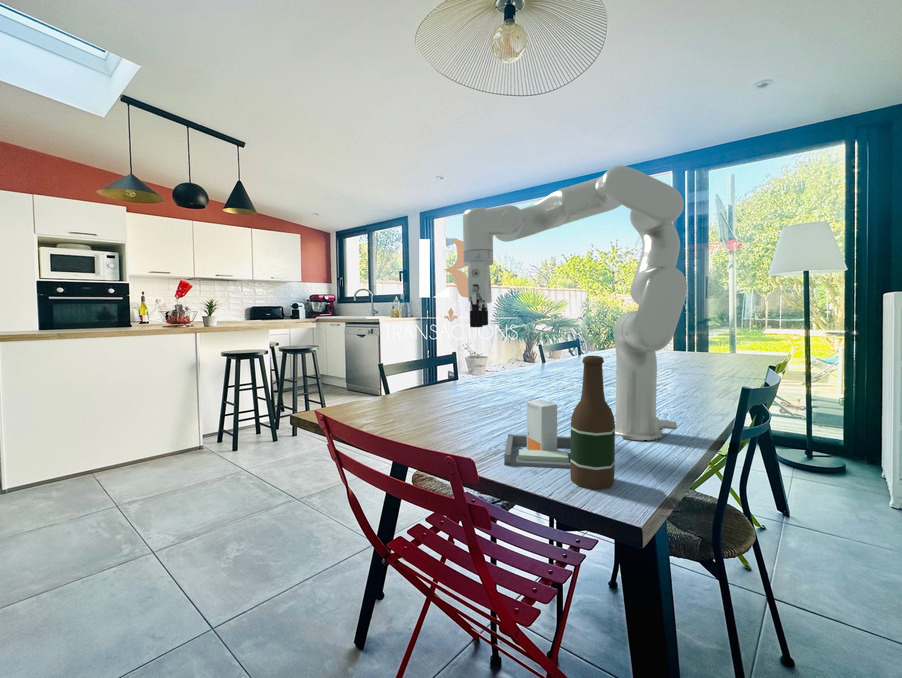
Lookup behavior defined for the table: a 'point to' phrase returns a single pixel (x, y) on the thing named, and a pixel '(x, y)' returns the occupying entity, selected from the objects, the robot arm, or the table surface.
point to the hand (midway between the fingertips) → (479, 326)
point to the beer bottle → (592, 432)
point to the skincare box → (541, 425)
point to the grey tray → (522, 441)
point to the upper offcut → (543, 456)
